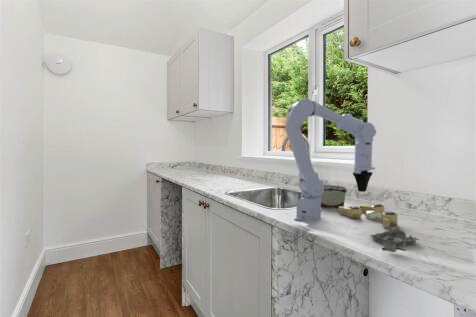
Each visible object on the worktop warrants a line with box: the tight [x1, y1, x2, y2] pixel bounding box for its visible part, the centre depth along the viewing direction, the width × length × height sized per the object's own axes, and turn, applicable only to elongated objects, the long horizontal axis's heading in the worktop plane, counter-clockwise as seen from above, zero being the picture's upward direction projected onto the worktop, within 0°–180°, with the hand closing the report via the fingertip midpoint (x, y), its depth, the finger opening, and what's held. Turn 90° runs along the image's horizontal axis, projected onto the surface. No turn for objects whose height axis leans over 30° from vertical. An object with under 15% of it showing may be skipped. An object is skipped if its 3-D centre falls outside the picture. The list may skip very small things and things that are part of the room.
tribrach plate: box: [365, 211, 382, 222], centre depth 91 cm, size 24×24×4 cm
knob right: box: [381, 210, 399, 229], centre depth 83 cm, size 8×4×4 cm, turn 139°
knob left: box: [337, 205, 362, 220], centre depth 94 cm, size 8×4×4 cm, turn 29°
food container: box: [321, 184, 348, 210], centre depth 109 cm, size 12×6×10 cm, turn 74°
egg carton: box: [370, 226, 420, 253], centre depth 69 cm, size 11×8×4 cm
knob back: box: [359, 203, 385, 218], centre depth 97 cm, size 8×4×4 cm, turn 49°
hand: (362, 191), depth 95 cm, fingers closed
